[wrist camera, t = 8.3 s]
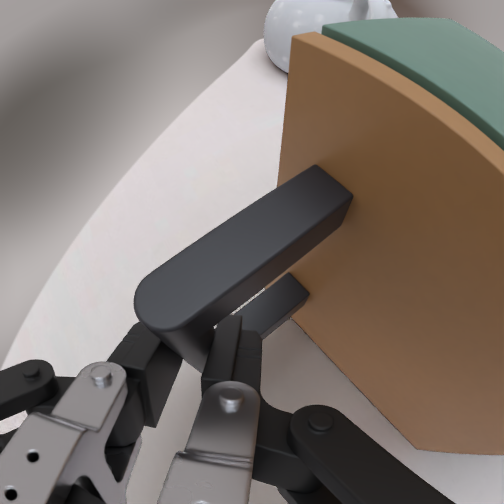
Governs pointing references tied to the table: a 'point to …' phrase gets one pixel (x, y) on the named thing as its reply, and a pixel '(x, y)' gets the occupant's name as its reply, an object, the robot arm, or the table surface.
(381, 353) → the door
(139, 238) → the table surface
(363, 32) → the cupboard
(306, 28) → the teapot
